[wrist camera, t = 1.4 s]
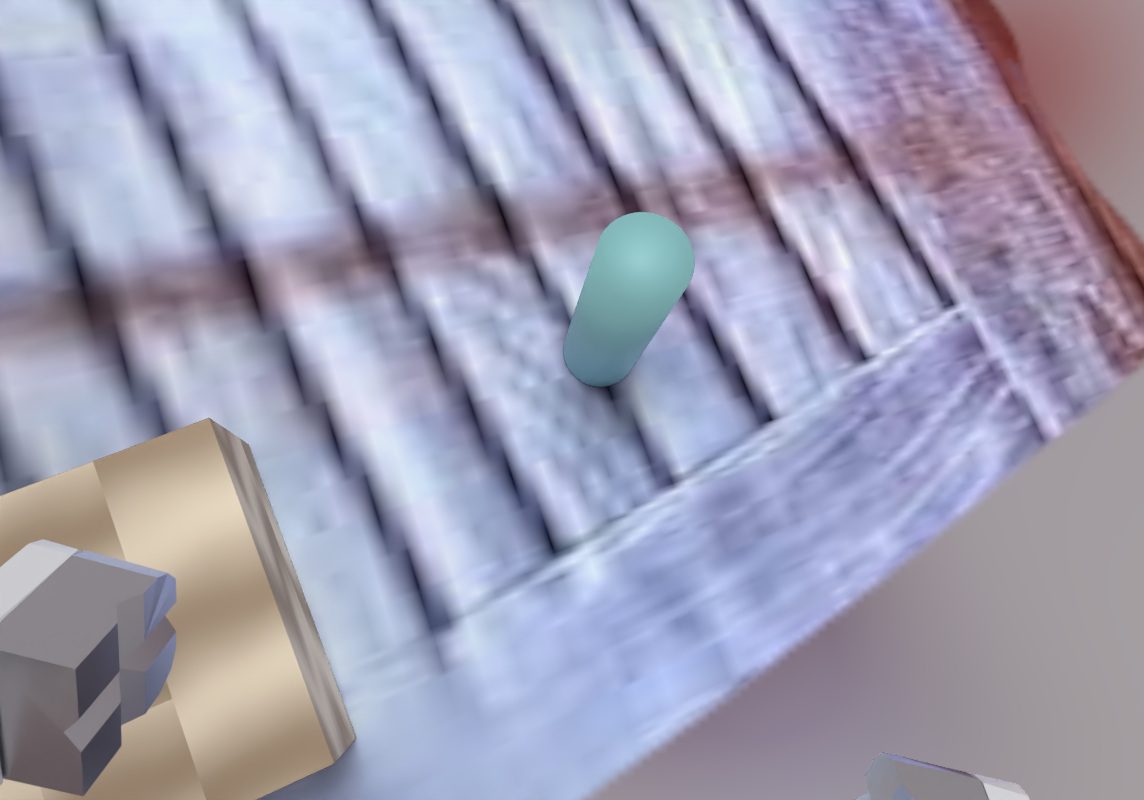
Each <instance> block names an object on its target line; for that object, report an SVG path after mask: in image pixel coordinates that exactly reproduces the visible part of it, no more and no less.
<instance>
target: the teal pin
mask: <svg viewBox="0 0 1144 800" xmlns="http://www.w3.org/2000/svg"><path fill="white" fill-rule="evenodd" d="M694 266H695V259H694V252H693V248H692V246H691V243H690V241H689V239H688V238H687V236H686V235H685V233H684V232H683V231H682V230H681V229H680V228H679V227H678V226H677V225H676V224H675V223H674V222H672V221H671V220H669V219H667V218H665V217H663V216H660V215H657V214H653V213H647V212H637V213H631V214H627V215H624V216H622V217H620V218H618V219H616V220H615V221H613V222H612V223H611V224H610V225H609V226H608V227H607V228H606V229H605V230H604V232H603V233H602V235H601V237H600V239H599V241H598V244H597V247H596V250H595V253H594V256H593V259H592V262H591V265H590V268H589V271H588V274H587V277H586V280H585V282H584V285H583V288H582V291H581V294H580V297H579V300H578V303H577V306H576V309H575V312H574V315H573V318H572V321H571V323H570V326H569V329H568V332H567V335H566V338H565V341H564V346H563V356H564V360H565V363H566V365H567V367H568V369H569V371H570V372H571V373H572V374H573V375H574V376H575V377H576V378H577V379H578V380H580V381H581V382H583V383H585V384H588V385H591V386H595V387H606V386H610V385H613V384H616V383H618V382H619V381H621V380H622V379H623V378H625V377H626V376H627V374H628V373H629V372H630V370H631V369H632V367H633V366H634V364H635V363H636V361H637V360H638V359H639V357H640V356H641V354H642V353H643V351H644V350H645V348H646V347H647V345H648V344H649V342H650V341H651V339H652V338H653V336H654V335H655V333H656V332H657V330H658V329H659V327H660V326H661V324H662V323H663V322H664V320H665V319H666V317H667V316H668V314H669V313H670V311H671V310H672V308H673V307H674V305H675V304H676V302H677V301H678V299H679V298H680V296H681V295H682V293H683V292H684V290H685V289H686V287H687V286H688V284H689V283H690V281H691V278H692V276H693V272H694Z"/></svg>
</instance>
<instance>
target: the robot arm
mask: <svg viewBox="0 0 1144 800" xmlns="http://www.w3.org/2000/svg"><path fill="white" fill-rule="evenodd" d="M176 602H177V599H176V578H174V577H173V576H171V575H170V574H169V573H166V572H163V571H159V570H155V569H152V568H148V567H145V566H141V565H137V564H134V563H130V562H127V561H123V560H119V559H116V558H112V557H109V556H105V555H101V554H98V553H94V552H91V551H87V550H85V551H83V550H79V549H76V548H72V547H69V546H65V545H62V544H58V543H55V542H51V541H48V540H44V539H42V540H39V541H36V542H32V543H29V544H28V545H26V546H25V547H23V548H22V549H21V550H20V551H19V552H18V553H16V554H15V555H14V556H13V557H12V558H10V559H9V560H8V561H7V562H6V563H4V564H3V565H2V566H1V567H0V785H1V784H2V783H3V779H7V780H12V781H16V782H21V783H25V784H30V785H34V786H38V787H43V788H47V789H52V790H56V791H61V792H65V793H70V794H74V795H79V796H83V797H84V795H85V794H86V793H87V791H88V790H89V789H90V787H91V786H92V785H93V783H94V782H95V781H96V779H97V778H98V777H99V775H100V774H101V773H102V771H103V770H104V769H105V767H106V766H107V765H108V763H109V762H110V761H111V759H112V758H113V757H114V755H115V754H116V753H117V751H118V750H119V749H120V747H121V746H122V739H121V725H123V724H125V723H127V722H130V721H132V720H134V719H136V718H138V717H140V716H142V715H144V714H146V712H147V711H148V709H149V708H150V707H151V705H152V704H153V702H154V701H155V700H156V698H157V697H158V695H159V694H160V692H161V690H162V688H163V686H164V683H165V681H166V679H167V677H168V675H169V673H170V670H171V668H172V664H173V659H174V655H175V650H176V630H175V629H174V627H173V626H172V625H171V623H170V622H169V620H168V619H167V618H166V616H165V615H166V614H167V613H168V611H169V610H170V609H171V608H172V607H173V605H174V604H175V603H176ZM865 776H866V781H867V785H868V789H869V793H867V794H866V795H863V796H861V797H859V798H857V799H855V800H1029V797H1028V795H1027V794H1026V792H1025V791H1024V790H1022V788H1021V787H1020V786H1019V785H1018V784H1015V783H1011V782H1006V781H1001V780H998V779H993V778H989V777H985V776H981V775H977V774H968V773H966V772H963V771H959V770H954V769H950V768H946V767H942V766H938V765H934V764H930V763H926V762H921V761H917V760H913V759H909V758H905V757H901V756H897V755H893V754H888V753H884V752H883V753H882V754H880V755H879V756H878V757H876V758H875V759H874V760H873V762H872V764H871V765H870V767H869V769H868V771H867V772H866V774H865Z"/></svg>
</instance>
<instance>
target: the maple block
mask: <svg viewBox="0 0 1144 800" xmlns="http://www.w3.org/2000/svg"><path fill="white" fill-rule="evenodd" d="M42 539H44V540H48V541H51V542H55V543H58V544H62V545H65V546H69V547H72V548H76V549H79V550H83V551H85V550H87V551H91V552H94V553H98V554H101V555H105V556H109V557H112V558H116V559H119V560H123V561H127V562H130V563H134V564H137V565H141V566H145V567H148V568H152V569H155V570H159V571H163V572H166V573H169V574H170V575H171V576H173V577H174V578H176V599H177V602H176V603H175V604H174V605H173V607H172V608H171V609H170V610H169V611H168V613H167V614H166V615H165V616H166V618H167V619H168V620H169V622H170V623H171V625H172V626H173V627H174V629H175V630H176V650H175V655H174V659H173V664H172V668H171V670H170V673H169V675H168V677H167V679H166V681H165V683H164V686H163V688H162V690H161V692H160V694H159V695H158V697H157V698H156V700H155V701H154V702H153V704H152V705H151V707H150V708H149V709H148V711H147V712H146V714H144V715H142V716H140V717H138V718H136V719H134V720H132V721H130V722H127V723H125V724H123V725H121V739H122V746H121V747H120V749H119V750H118V751H117V753H116V754H115V755H114V757H113V758H112V759H111V761H110V762H109V763H108V765H107V766H106V767H105V769H104V770H103V771H102V773H101V774H100V775H99V777H98V778H97V779H96V781H95V782H94V783H93V785H92V786H91V787H90V789H89V790H88V791H87V793H86V794H85V795H84V797H83V796H79V795H74V794H70V793H65V792H61V791H56V790H52V789H47V788H43V787H38V786H34V785H30V784H25V783H21V782H16V781H12V780H7V779H3V783H2V784H1V785H0V800H257V799H259V798H261V797H263V796H265V795H267V794H270V793H272V792H274V791H276V790H278V789H280V788H283V787H285V786H287V785H289V784H291V783H293V782H296V781H298V780H300V779H302V778H304V777H306V776H308V775H311V774H313V773H315V772H317V771H319V770H321V769H324V768H326V767H328V766H330V765H332V764H334V763H335V762H336V761H337V760H338V759H339V757H340V756H341V755H342V754H343V753H344V752H345V750H346V749H347V748H348V747H349V746H350V745H351V743H352V742H353V741H354V740H355V739H356V735H355V733H354V730H353V727H352V724H351V722H350V719H349V716H348V714H347V711H346V708H345V705H344V703H343V700H342V697H341V695H340V692H339V689H338V686H337V684H336V681H335V678H334V676H333V673H332V670H331V667H330V665H329V662H328V659H327V657H326V654H325V651H324V648H323V646H322V643H321V640H320V638H319V635H318V632H317V629H316V627H315V624H314V621H313V619H312V616H311V613H310V610H309V608H308V605H307V602H306V599H305V597H304V594H303V591H302V589H301V586H300V583H299V580H298V578H297V575H296V572H295V570H294V567H293V564H292V561H291V559H290V556H289V553H288V551H287V548H286V545H285V542H284V540H283V537H282V534H281V532H280V529H279V526H278V523H277V521H276V518H275V515H274V513H273V510H272V507H271V504H270V502H269V499H268V496H267V494H266V491H265V488H264V485H263V483H262V480H261V477H260V475H259V472H258V469H257V466H256V464H255V461H254V458H253V456H252V453H251V450H250V447H249V445H248V444H247V443H246V442H244V441H243V440H241V439H240V438H238V437H237V436H235V435H234V434H232V433H231V432H229V431H228V430H226V429H225V428H223V427H222V426H220V425H219V424H217V423H216V422H214V421H213V420H211V419H210V418H207V419H204V420H202V421H199V422H196V423H194V424H191V425H188V426H186V427H183V428H180V429H178V430H175V431H172V432H170V433H167V434H165V435H162V436H159V437H157V438H154V439H151V440H149V441H146V442H143V443H141V444H138V445H135V446H133V447H130V448H127V449H125V450H122V451H119V452H117V453H114V454H111V455H109V456H106V457H103V458H101V459H98V460H95V461H93V462H90V463H87V464H85V465H82V466H79V467H77V468H74V469H71V470H69V471H66V472H63V473H61V474H58V475H55V476H53V477H50V478H47V479H45V480H42V481H39V482H37V483H34V484H31V485H29V486H26V487H23V488H21V489H18V490H15V491H13V492H10V493H7V494H5V495H2V496H0V567H1V566H2V565H3V564H4V563H6V562H7V561H8V560H9V559H10V558H12V557H13V556H14V555H15V554H16V553H18V552H19V551H20V550H21V549H22V548H23V547H25V546H26V545H28V544H29V543H32V542H36V541H39V540H42Z"/></svg>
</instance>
